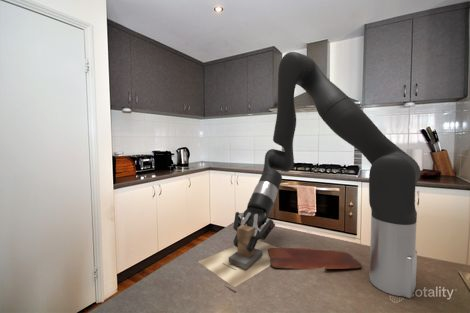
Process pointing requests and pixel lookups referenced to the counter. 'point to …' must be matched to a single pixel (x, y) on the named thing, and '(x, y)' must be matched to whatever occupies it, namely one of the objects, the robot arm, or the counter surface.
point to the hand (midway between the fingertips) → (242, 248)
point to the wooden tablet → (311, 259)
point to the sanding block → (244, 249)
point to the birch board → (235, 273)
